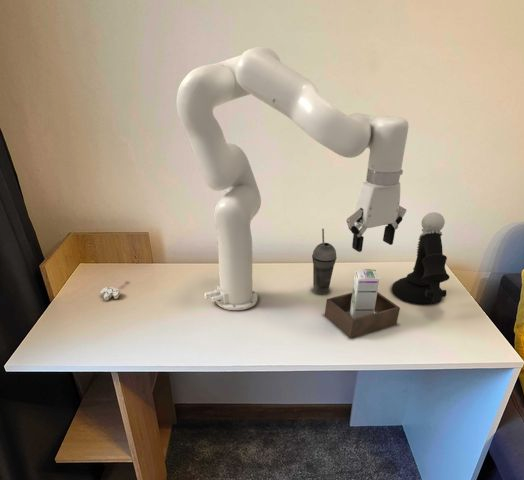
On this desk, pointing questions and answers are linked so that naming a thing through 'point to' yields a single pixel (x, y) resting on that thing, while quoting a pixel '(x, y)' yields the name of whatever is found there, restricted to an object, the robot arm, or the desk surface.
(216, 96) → the robot arm
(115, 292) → the white flower stem
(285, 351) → the desk surface
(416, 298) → the sculpture
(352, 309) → the syrup box
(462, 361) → the desk surface
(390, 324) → the bin
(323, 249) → the beverage cup
